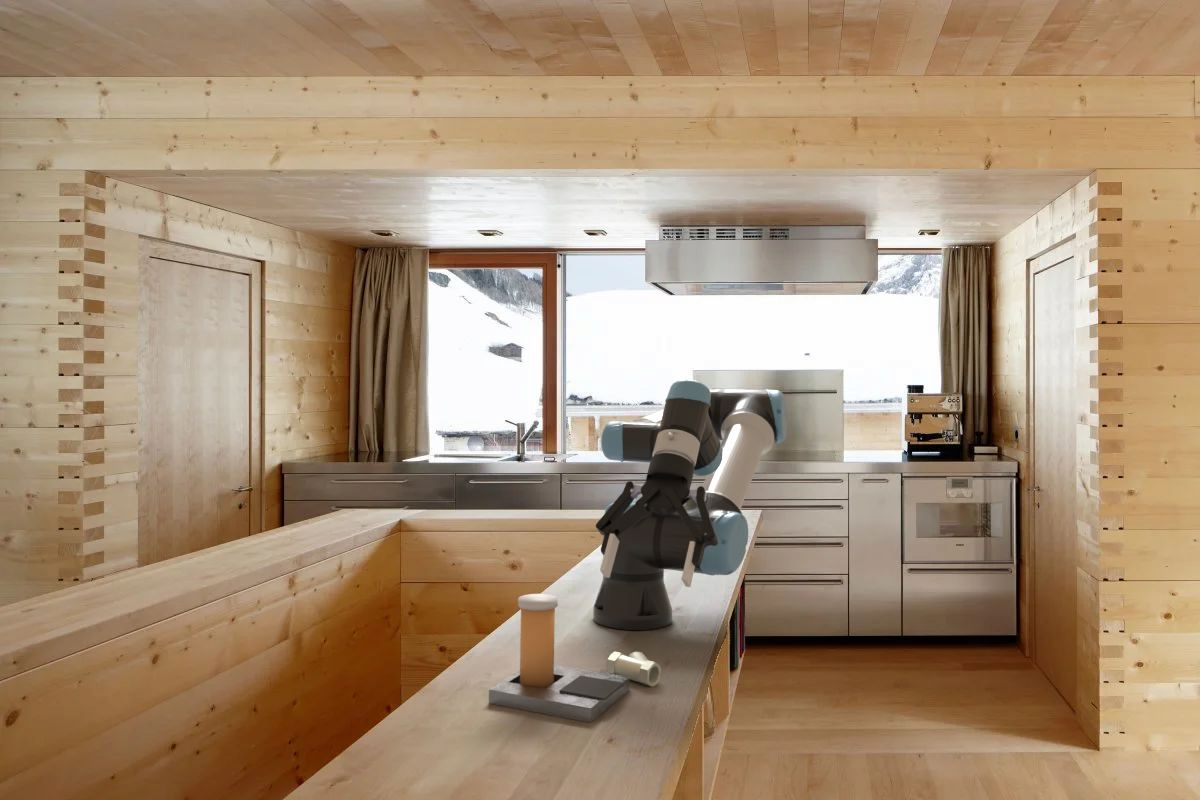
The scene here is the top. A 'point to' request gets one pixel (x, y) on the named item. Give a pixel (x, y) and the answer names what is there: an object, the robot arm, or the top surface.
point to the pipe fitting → (634, 667)
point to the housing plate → (557, 695)
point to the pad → (592, 687)
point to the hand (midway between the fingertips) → (644, 578)
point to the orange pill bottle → (537, 639)
